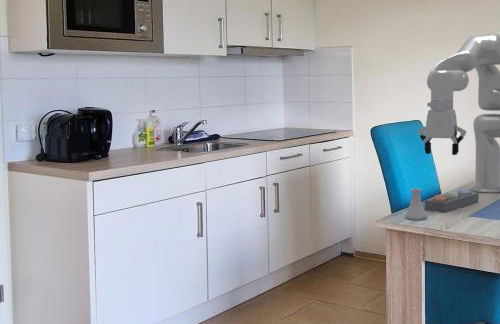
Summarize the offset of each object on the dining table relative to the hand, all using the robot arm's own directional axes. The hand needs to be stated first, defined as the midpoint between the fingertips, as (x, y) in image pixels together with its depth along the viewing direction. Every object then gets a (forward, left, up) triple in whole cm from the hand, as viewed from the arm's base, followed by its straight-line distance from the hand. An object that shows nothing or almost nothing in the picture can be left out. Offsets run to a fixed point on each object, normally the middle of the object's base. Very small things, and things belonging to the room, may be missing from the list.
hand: (441, 154), depth 219 cm
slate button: (-16, +2, -18) cm, 25 cm away
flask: (+16, -2, -21) cm, 26 cm away
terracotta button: (-1, 0, -18) cm, 18 cm away
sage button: (-9, +1, -18) cm, 20 cm away
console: (-9, +1, -20) cm, 22 cm away
